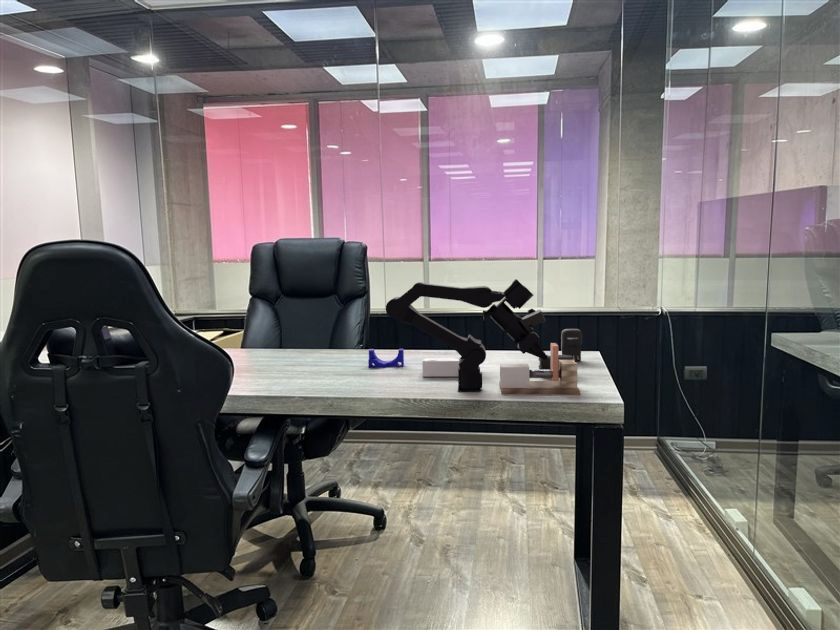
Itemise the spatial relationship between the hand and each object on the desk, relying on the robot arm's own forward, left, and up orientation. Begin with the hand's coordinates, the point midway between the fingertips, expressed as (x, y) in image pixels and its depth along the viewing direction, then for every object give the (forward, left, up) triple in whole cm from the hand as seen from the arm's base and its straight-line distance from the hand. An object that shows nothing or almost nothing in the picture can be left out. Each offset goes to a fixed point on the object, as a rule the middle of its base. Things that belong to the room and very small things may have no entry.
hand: (546, 358), depth 162 cm
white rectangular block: (-9, 0, -9) cm, 13 cm away
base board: (-2, 0, -9) cm, 9 cm away
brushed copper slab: (+1, 0, -6) cm, 6 cm away
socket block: (+6, 0, -9) cm, 11 cm away
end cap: (+5, +17, -9) cm, 20 cm away
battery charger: (+14, +40, -9) cm, 43 cm away
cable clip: (-51, +32, -9) cm, 61 cm away
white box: (-28, +20, -9) cm, 36 cm away
